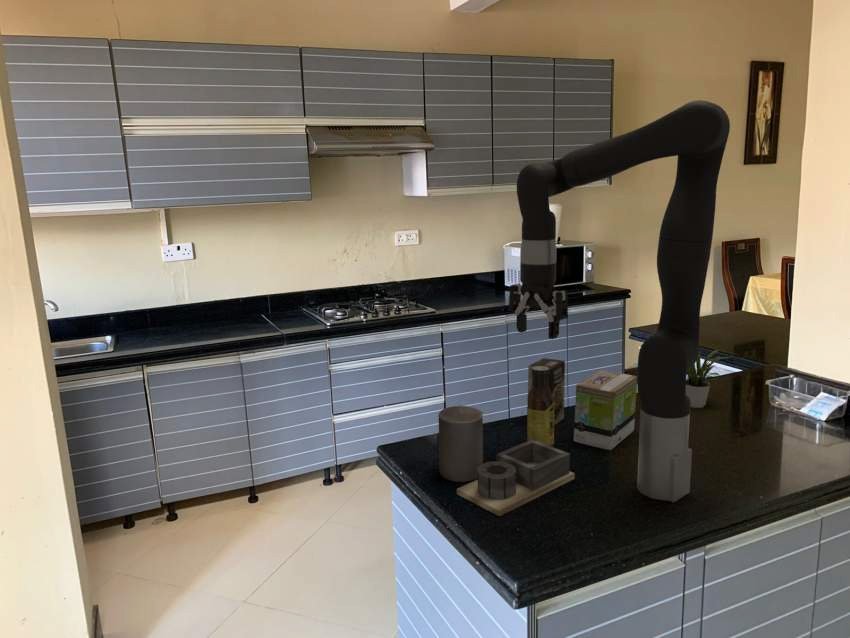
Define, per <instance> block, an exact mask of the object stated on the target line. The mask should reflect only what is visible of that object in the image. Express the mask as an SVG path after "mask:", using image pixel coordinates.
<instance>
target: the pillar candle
mask: <svg viewBox="0 0 850 638" xmlns="http://www.w3.org/2000/svg"><path fill="white" fill-rule="evenodd" d="M483 413H484V412H483V411H482V410H479V409H478V408H476V407H473V406H466V405H456V406H449V407H445V408H443V409H441V410H440V411H439V412H438V461H439V464H438V466H439V467H438V468H439V469H438V471H439V475H441V477H442V478H444V479H446V480H448V481H451V482H456V483H457V482H459V483H460V482H461V483H463V482H464V483H465V482H473V481H476V480H478V467H479V465H482V464H484V438H483V437H484V435H483V434H484V432H483V430H484V429H483V428H484V426H483V423H484V420H483V419H484V418H483V417H484V415H483Z"/></svg>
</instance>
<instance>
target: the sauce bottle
mask: <svg viewBox="0 0 850 638" xmlns="http://www.w3.org/2000/svg"><path fill="white" fill-rule="evenodd" d="M532 382H533V383H532V386H533V387H532V389H531V390H530V392H529V394H528V393H527V406H526V419H527V420H526V422H527V425H526V429H527V430H526V432H527V433H526V434H527V435H526V437H527V438H526V439H527V441H529V440H532V439H533V440H535V441H538V442H540V443H543V444H546V445H548V446H551V447H554V444H555V425H554V399H553V396H552V394H551V391H550V388H549V368H548V367H545V366H535V367H532ZM527 441H526V442H527Z"/></svg>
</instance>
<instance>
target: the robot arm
mask: <svg viewBox="0 0 850 638" xmlns="http://www.w3.org/2000/svg"><path fill="white" fill-rule="evenodd" d="M730 122H731V121H730V118H729V115H728V114H727V112H726V110H724V108H722V106H720V105H719V104H717V103H712V102H710V101H708V100H693V101H689V102H686V103H685V104H684V105H682V106H680V107H678V108H677V109H674V110H673V111H671V112H669V113H667V114H665V115H663V116H661V117H660V118H657V119H656V120H653V121H651V122H650V123H647V124H645V125H643V126H641V127H639V128H636V129H634V130H632V131H627V132H626V133H623V134H621V135H620V134H619V135H616V136H614V137H611V138H608V139H605V140H601V141H598V142H596V143H593V144H588V145H586V146H584V147H580V148H579V149H576V150H573V151H570V152H568V153H566V154H565V155H564V156H563V157H562V158H561V157H560V158H558V159H555V160H552V161H548V162H544V163H529V164H526V165H524V166H523V168H522V169H521V170H520V171H519V173H518V177H517V181H516V195H517V201H518V206H519V211H520V214H521V221H522V222H521V244H520V254H519V255H520V264H519V265H520V266H519V267H520V270H519V275H520V276H519V280H520V282H521V283H514V284H511V285H510V286H509V297H508V298H509V300H508V310H509V312H513V313H514V314H515V316H516V324H515V325H516V329H517V332H518V333H524V332H526V331H527V329H528V326H527V324H528V323H527V319H528V317H527V316H528V315H527V314H526V313H527V312H528V311H529V309H530V308H536V309H539V310H541V311H542V313H544V314H545V315H546V317H547V319H548V320H549V321H548V334H547V335H548V336H547V337H548V339H549V340H550V339H551V340H553V339H557V338H558V336H559V335H560V322H561V321H562V320H565V319H568V317H569V308H568V306H569V305H568V304H569V302H568V300H569V299H568V291H567V290H566V289H565V290H560V291H559V290H556V289H555V283H556V281H557V253H558V252H557V251H558V250H557V242H556V241H557V240H556V238H557V237H556V235H557V232H556V231H557V227H556V226H557V219H556V214H555V213H554V212H553V211H552V210H551V209H550V208H551V207H550V199H549V198H550V197H554V196H557V195H560V194H563V193H565V192H567V191H570V190H572V189H574V188H577V187H581V186H585V185H589V184H592V183H596V182H598V181H602V180H604V179H607V178H610V177H613V176H616V175H618V174H620V173H622V172H624V171H627V170H629V169H632V168H634V167H636V166H639V165H641V164H645V163H648V162H650V161H651V162H652V161H655V160H658V159H659V160H660V159H663V158H670V157H675V156H676V157H677V164H676V174H675V175H676V176H675V181H674V185H673V190H672V192H671V195H670V198H669V200H668V203H667V206H666V209H665V212H664V214H663V218H662V221H661V225H660V230H659V235H658V236H659V237H658V242H657V252H656V268H657V269H656V270H657V271H656V272H657V276H658V281H659V286H660V292H661V309H660V317H659V321H658V325H657V329H656V333H654V334H652V335H651V336H648V337H647V338H646V339H645V340H644V341H643V342H642V344H641V346H640V349H639V352H638V358H637V393H638V394H637V395H638V398H639V400H640V413H639V414H640V415H639V433H638V434H639V435H638V452H637V453H638V455H637V476H636V479H637V480H636V488H637V490H638V492H639V493H641V494H642V495H644V496H646V497H647V498H650V499H654V500H658V501H659V500H660V501H667V502H668V501H669V502H670V503H675V502H677V501H679V500H680V499H682V498H683V497H685V496H686V495H688V494H690V487H691V475H692V474H691V473H692V457H693V449H692V448H690V447H689V436H690V435H689V434H690V433H689V431H690V421H691V417H690V416H691V408H692V407H691V401H690V399H689V397H688V396H686V380H687V374H686V373H687V371H688V370H689V369H691V368H692V367H693V365H694V364H695V365H696V360H697V358H698V353H700V351H699V350H700V324H701V323H700V317H701V306H702V301H703V295H704V292H705V286H706V280H707V275H708V274H707V273H708V269H709V263H710V258H711V257H710V256H711V251H712V244H713V237H714V227H715V216H716V205H717V204H716V202H717V201H716V199H717V187H718V186H717V185H718V179H719V176H720V175H719V174H720V171H721V166H722V162H723V158H724V153H725V149H726V146H727V142H728V139H729V134H730V131H731V123H730ZM522 296H523V297H522ZM521 297H522V298H521Z"/></svg>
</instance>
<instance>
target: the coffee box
mask: <svg viewBox="0 0 850 638" xmlns="http://www.w3.org/2000/svg"><path fill="white" fill-rule="evenodd" d="M535 366H545V367H548V368H549V388H550V391H551V394H552V396H553V399H554V426H555V425H557V424H559V423H560V422H561V421H563V420H564V419H565V381H566V380H565V377H566V376H565V370H566V360H561V359H553V358H545V357H544V358H541V359H539V360H537V361H535V362H534V363H531V364H530V365H528V368H527V369H528V372H527V374H528V376H527V395H528V394H529V392H530V390H531V389H532V387H533V386H532V383H533V382H532V367H535Z"/></svg>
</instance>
